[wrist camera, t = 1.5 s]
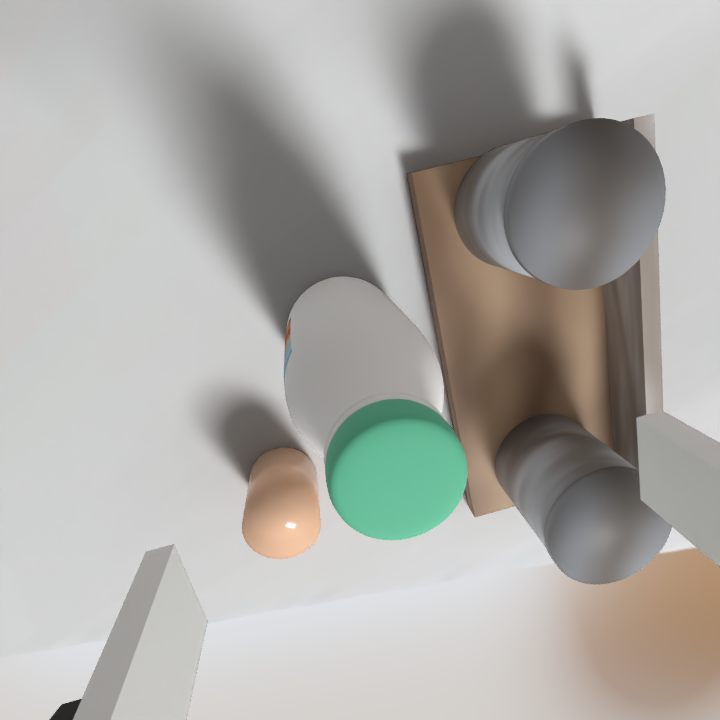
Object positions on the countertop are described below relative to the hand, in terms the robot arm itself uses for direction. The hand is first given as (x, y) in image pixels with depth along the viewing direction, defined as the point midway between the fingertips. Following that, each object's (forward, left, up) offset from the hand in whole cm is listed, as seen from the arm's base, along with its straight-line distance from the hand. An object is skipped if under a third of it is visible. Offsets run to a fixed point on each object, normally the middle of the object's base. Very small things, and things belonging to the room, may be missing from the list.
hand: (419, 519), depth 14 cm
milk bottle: (0, 0, -22) cm, 22 cm away
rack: (+13, -4, -22) cm, 26 cm away
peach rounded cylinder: (-7, -10, -22) cm, 25 cm away
